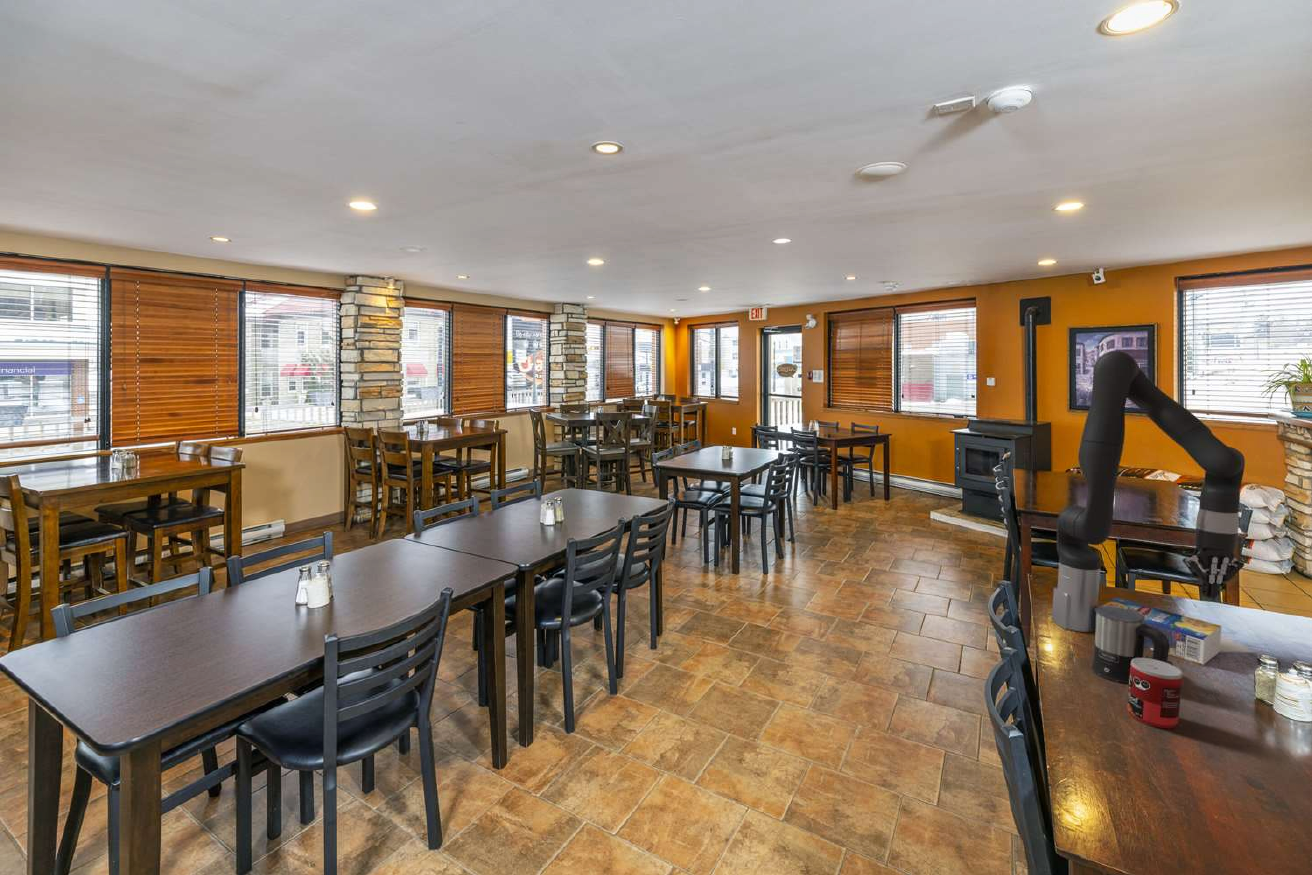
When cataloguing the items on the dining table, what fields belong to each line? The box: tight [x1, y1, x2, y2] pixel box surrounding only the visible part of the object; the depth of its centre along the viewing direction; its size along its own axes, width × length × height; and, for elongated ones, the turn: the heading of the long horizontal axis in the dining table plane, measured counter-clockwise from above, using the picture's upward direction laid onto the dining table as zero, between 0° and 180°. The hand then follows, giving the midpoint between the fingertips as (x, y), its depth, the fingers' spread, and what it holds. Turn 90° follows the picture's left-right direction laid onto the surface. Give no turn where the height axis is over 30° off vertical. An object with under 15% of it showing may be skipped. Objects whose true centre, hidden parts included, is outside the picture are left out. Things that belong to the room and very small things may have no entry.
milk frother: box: [1091, 605, 1174, 684], centre depth 138 cm, size 14×16×15 cm
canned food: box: [1126, 657, 1183, 730], centre depth 120 cm, size 8×8×11 cm
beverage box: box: [1101, 597, 1222, 666], centre depth 154 cm, size 7×11×22 cm
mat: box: [1149, 635, 1255, 654], centre depth 159 cm, size 24×20×1 cm
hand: (1209, 596), depth 147 cm, fingers closed
